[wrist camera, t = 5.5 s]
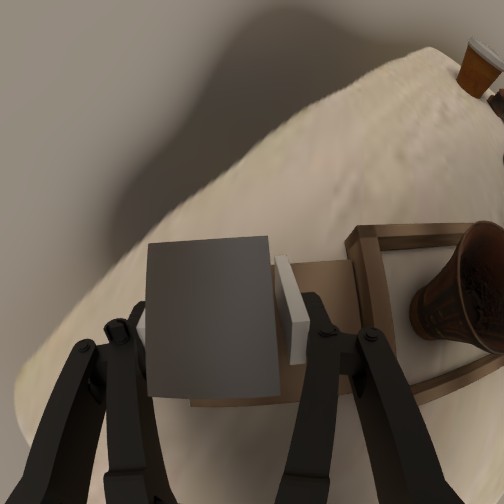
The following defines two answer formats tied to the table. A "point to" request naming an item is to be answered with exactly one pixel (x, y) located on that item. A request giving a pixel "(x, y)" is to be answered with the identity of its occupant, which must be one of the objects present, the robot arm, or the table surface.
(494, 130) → the table surface
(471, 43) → the disposable coffee cup
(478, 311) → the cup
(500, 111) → the dark brown arched piece
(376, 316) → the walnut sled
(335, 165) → the table surface
